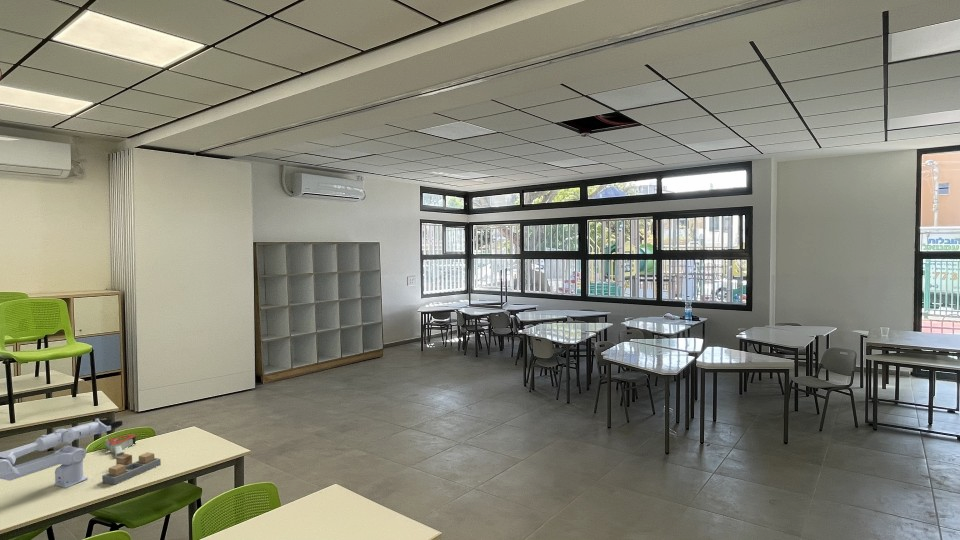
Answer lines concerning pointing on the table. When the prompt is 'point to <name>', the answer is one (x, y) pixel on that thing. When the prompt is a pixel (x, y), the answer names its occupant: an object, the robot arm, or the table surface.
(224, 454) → the table surface
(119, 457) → the walnut block
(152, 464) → the pocket tray
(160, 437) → the table surface
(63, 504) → the table surface
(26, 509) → the table surface
